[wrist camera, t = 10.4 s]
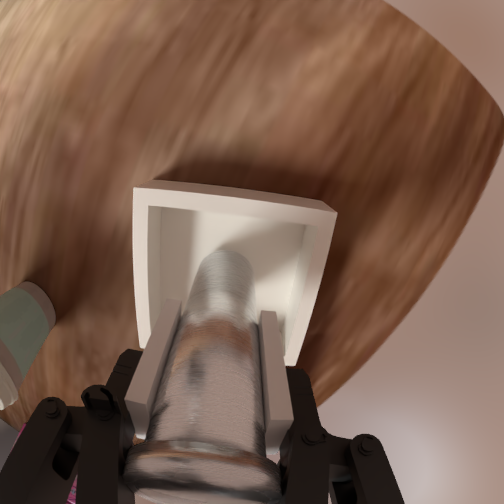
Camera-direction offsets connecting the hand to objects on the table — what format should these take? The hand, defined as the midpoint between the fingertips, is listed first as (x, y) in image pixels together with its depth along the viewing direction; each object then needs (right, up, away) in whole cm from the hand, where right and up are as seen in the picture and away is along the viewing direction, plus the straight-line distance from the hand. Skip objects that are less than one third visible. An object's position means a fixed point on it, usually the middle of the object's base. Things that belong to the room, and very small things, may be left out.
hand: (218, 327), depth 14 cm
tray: (0, +3, +7) cm, 7 cm away
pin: (0, +2, +6) cm, 6 cm away
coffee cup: (-21, -2, +8) cm, 23 cm away
